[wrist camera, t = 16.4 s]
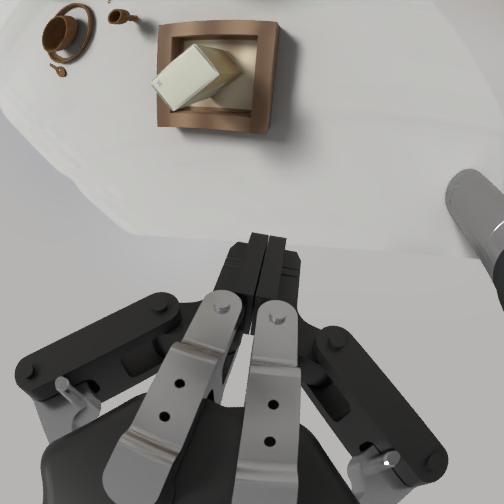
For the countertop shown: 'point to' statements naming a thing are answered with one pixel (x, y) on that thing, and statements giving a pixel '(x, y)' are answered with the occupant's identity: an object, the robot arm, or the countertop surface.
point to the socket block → (238, 92)
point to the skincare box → (196, 76)
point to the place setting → (73, 32)
